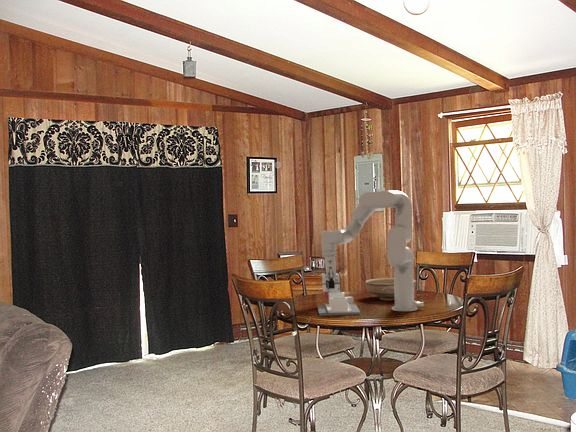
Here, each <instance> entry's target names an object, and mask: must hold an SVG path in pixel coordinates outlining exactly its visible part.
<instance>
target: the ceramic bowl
mask: <svg viewBox="0 0 576 432" xmlns="http://www.w3.org/2000/svg"><path fill="white" fill-rule="evenodd" d="M416 282H417V280H415V279H413V285H414V290H415V289H416V286H417V283H416ZM364 283H365V289H366V290H367V292H368V293H369V294H372V295H374V296H375V297H378V299H379V300H382V301H395V295H394V277H391V278H390V277H387V278H386V277H381V278H372V279H367V280H365V281H364Z"/></svg>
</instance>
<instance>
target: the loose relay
mask: <svg viewBox="0 0 576 432" xmlns="http://www.w3.org/2000/svg"><path fill="white" fill-rule="evenodd" d="M346 297H347V299H348V304H355V303H354V302H355V301H354V300H355V299H354V296H350V295H349V296H346Z"/></svg>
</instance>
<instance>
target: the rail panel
mask: <svg viewBox="0 0 576 432" xmlns="http://www.w3.org/2000/svg"><path fill="white" fill-rule="evenodd" d="M347 297H348V296H346V294H345V292H344V291H340V292H331V293H329V297H328V303H326V302H325V304H323V305H322V304H321V305H320V304H318V305H317V311H318V315H319V317H321V316H325V317H326V316H354V315H355V316H357V315H361V311H360V309H359V307H358V306H357V304H356V303H354V304H348V299H347Z"/></svg>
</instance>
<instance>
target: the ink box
mask: <svg viewBox="0 0 576 432" xmlns="http://www.w3.org/2000/svg"><path fill="white" fill-rule="evenodd" d="M329 275H330V274H329ZM332 275H334V284H335V288H332V289H329V287H328V281H329V279H328V275H327V274H326V273H323V274H322V275H321V280H322V281H321V283H322V284H321V285H322V295H323V297H325V298H329V293H331V292H341V286H340V282H341V281H340V274H339V273H337V272H336V275H335V274H332Z"/></svg>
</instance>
